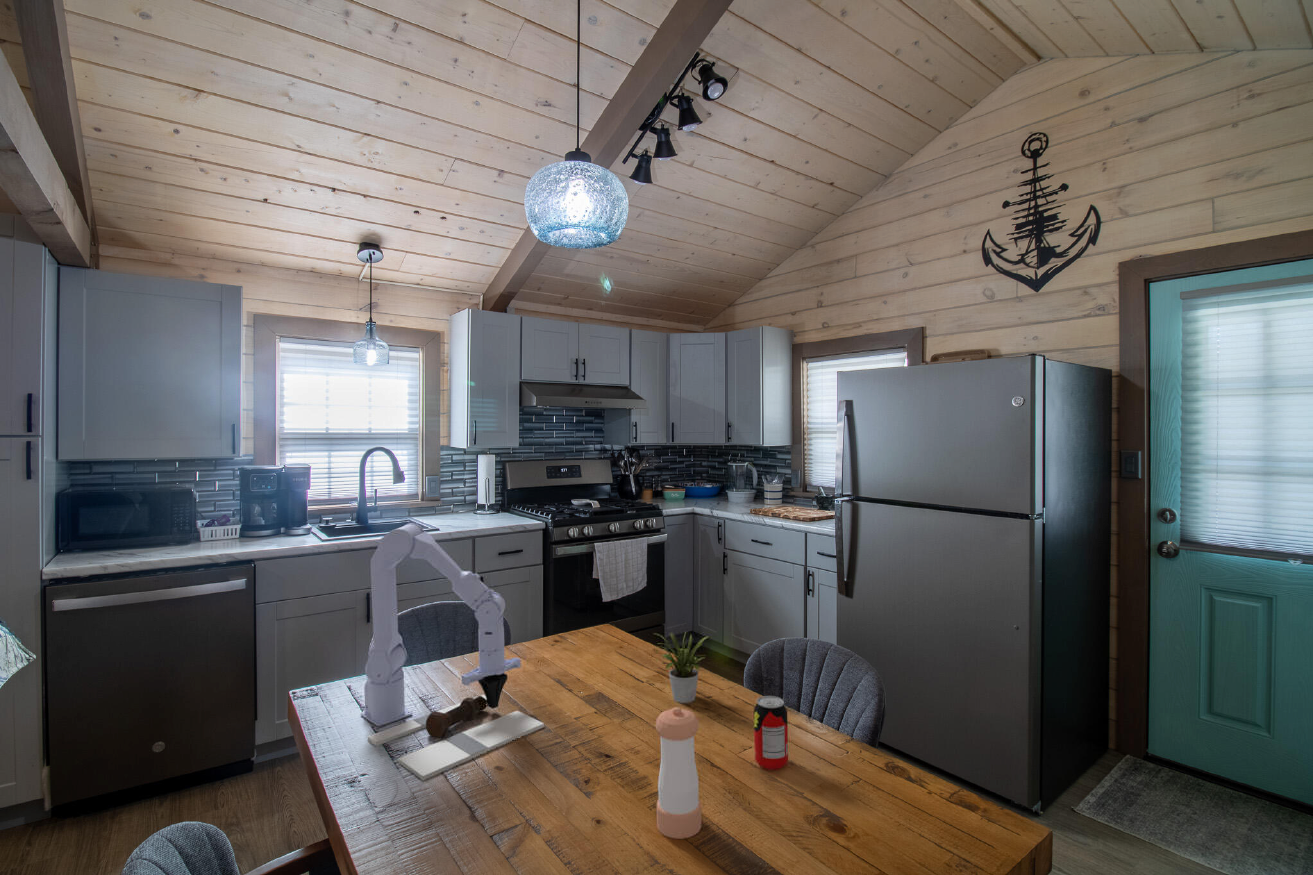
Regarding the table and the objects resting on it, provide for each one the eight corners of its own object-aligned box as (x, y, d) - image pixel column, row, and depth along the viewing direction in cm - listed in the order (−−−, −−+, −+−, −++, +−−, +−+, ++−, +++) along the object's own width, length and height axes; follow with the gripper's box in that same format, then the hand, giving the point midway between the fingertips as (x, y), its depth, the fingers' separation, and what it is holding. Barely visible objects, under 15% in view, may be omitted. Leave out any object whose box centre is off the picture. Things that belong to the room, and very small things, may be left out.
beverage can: (790, 757, 125) (789, 696, 125) (785, 774, 119) (784, 710, 119) (758, 753, 127) (756, 692, 127) (752, 769, 121) (750, 706, 121)
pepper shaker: (655, 813, 108) (652, 699, 108) (698, 809, 108) (695, 697, 108) (658, 840, 101) (656, 719, 100) (704, 837, 101) (702, 716, 101)
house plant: (639, 706, 150) (638, 636, 150) (661, 684, 163) (660, 619, 162) (697, 715, 144) (696, 643, 144) (715, 691, 157) (714, 625, 157)
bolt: (485, 718, 149) (436, 745, 136) (471, 704, 151) (421, 729, 138) (495, 698, 148) (447, 723, 135) (480, 685, 150) (431, 708, 137)
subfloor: (367, 740, 136) (367, 736, 136) (483, 697, 156) (483, 694, 156) (422, 780, 120) (422, 775, 120) (544, 726, 140) (543, 723, 140)
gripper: (473, 660, 140) (474, 722, 140) (527, 643, 151) (529, 700, 151) (456, 653, 145) (457, 713, 145) (510, 637, 155) (511, 692, 156)
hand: (493, 706), depth 148 cm, fingers closed
